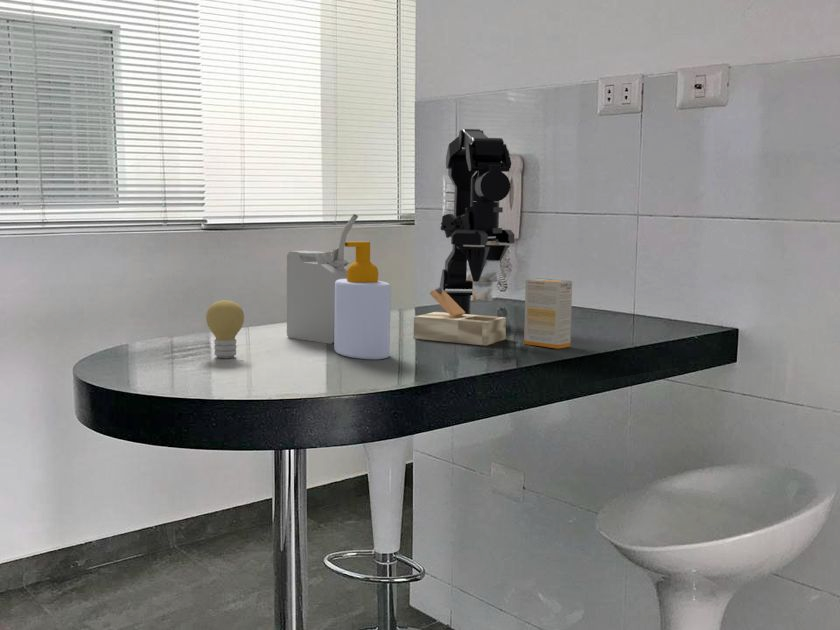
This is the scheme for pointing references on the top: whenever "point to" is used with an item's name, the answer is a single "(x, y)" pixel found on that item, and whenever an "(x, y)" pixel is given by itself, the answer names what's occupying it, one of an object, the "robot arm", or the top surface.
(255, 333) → the top surface
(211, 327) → the light bulb
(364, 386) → the top surface
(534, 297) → the supplement box
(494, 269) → the silver metal cylinder
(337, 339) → the soap bottle
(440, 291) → the orange knobbed panel
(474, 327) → the block
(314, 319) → the fuel canister
